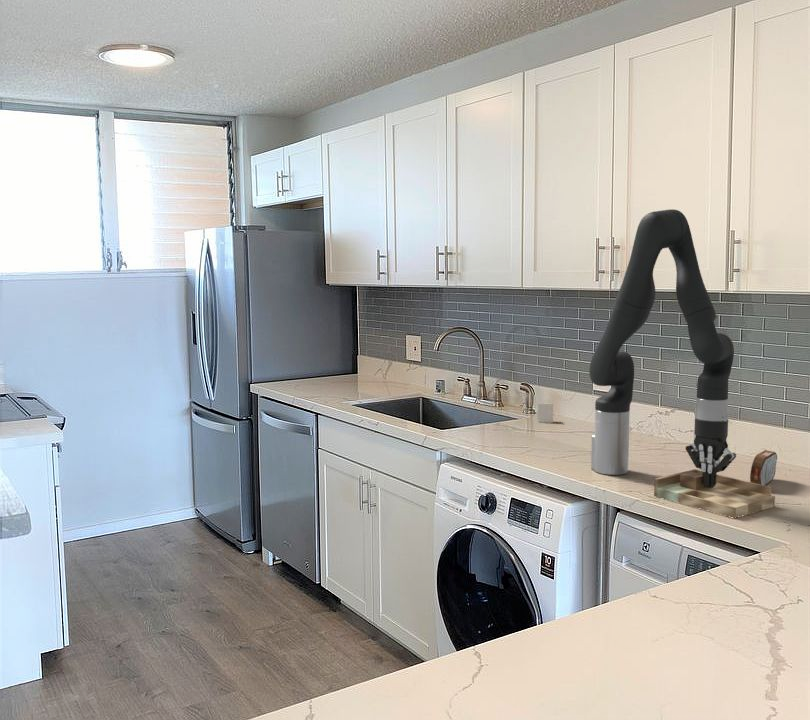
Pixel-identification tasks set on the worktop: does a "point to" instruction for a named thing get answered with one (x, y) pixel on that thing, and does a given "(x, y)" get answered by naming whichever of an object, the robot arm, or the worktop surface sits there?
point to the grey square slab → (545, 413)
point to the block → (691, 480)
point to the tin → (763, 468)
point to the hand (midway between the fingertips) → (709, 487)
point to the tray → (717, 495)
